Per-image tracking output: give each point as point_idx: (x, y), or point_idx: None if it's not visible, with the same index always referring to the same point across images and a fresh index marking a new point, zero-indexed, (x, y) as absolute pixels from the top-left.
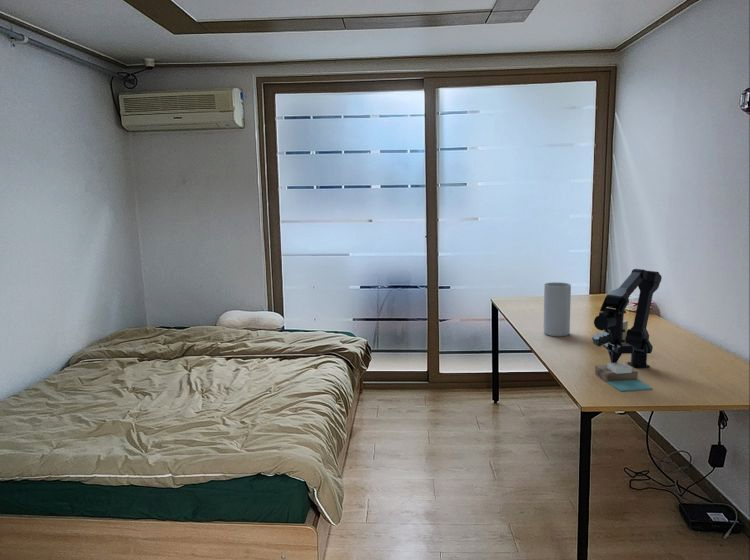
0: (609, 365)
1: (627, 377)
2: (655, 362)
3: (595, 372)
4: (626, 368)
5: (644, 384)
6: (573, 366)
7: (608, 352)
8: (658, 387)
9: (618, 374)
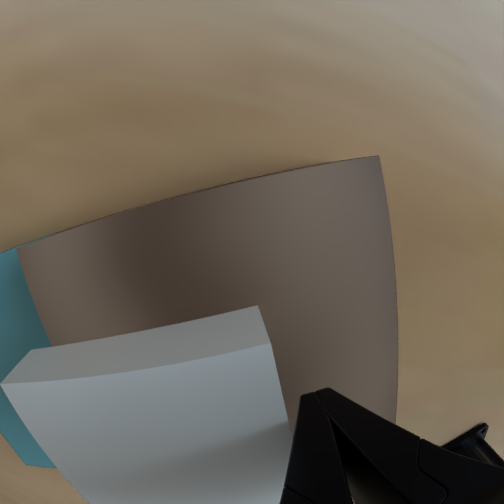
0: (192, 349)
1: None
2: None
3: (329, 162)
4: (72, 479)
5: None
6: (491, 66)
7: (474, 464)
8: (74, 493)
9: None
